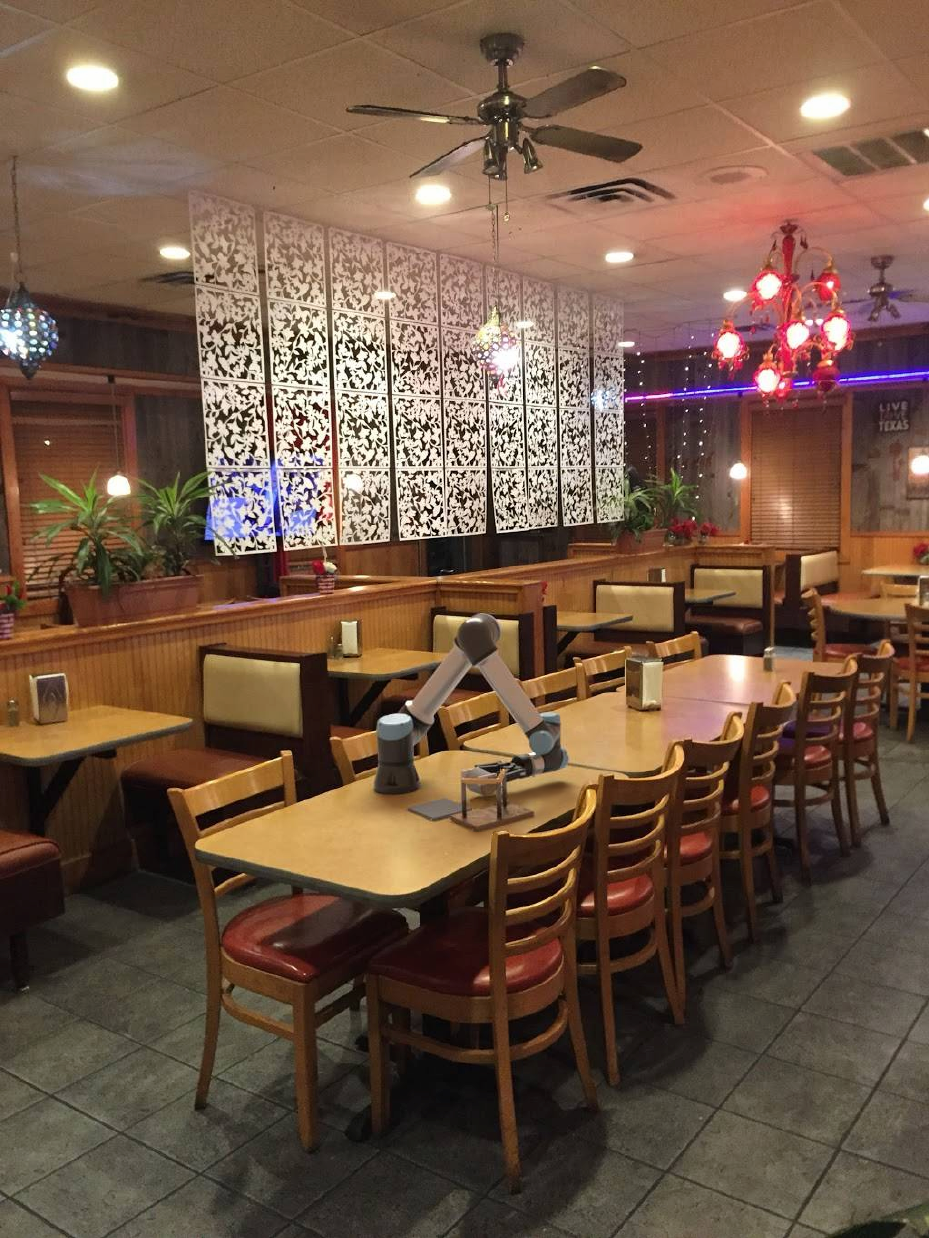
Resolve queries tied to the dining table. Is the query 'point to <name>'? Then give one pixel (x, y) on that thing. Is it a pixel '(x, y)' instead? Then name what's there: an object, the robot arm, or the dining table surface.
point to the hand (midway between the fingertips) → (470, 778)
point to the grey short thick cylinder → (483, 789)
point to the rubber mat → (438, 809)
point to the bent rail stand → (490, 807)
